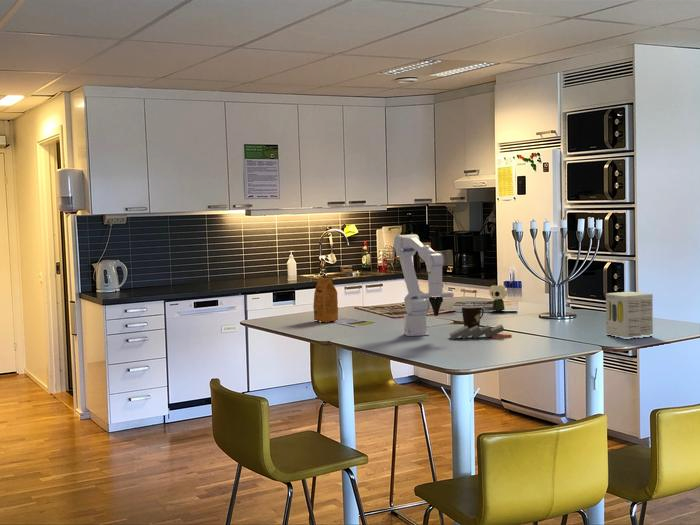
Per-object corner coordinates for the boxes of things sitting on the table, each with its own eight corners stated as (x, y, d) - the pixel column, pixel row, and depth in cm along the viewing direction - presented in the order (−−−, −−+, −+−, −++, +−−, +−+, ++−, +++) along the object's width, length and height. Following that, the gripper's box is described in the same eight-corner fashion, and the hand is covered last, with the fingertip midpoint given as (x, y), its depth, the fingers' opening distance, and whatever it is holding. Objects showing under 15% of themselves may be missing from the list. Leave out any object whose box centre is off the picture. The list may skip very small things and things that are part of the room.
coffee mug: (466, 331, 366) (466, 308, 365) (459, 328, 374) (458, 306, 374) (491, 329, 369) (490, 306, 368) (483, 326, 377) (482, 304, 377)
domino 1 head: (450, 335, 345) (468, 327, 345) (448, 333, 350) (466, 325, 350) (452, 339, 345) (470, 331, 345) (450, 337, 350) (468, 329, 350)
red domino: (492, 335, 346) (511, 334, 346) (489, 333, 351) (508, 332, 351) (492, 339, 346) (511, 338, 346) (489, 337, 351) (508, 336, 351)
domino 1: (461, 335, 345) (478, 327, 345) (459, 333, 350) (476, 325, 350) (463, 339, 345) (480, 330, 345) (461, 337, 350) (478, 329, 350)
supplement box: (605, 335, 343) (604, 293, 342) (631, 333, 348) (631, 291, 347) (626, 340, 331) (626, 296, 330) (653, 337, 335) (653, 293, 334)
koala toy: (485, 311, 430) (485, 286, 429) (494, 309, 434) (493, 284, 433) (502, 312, 421) (502, 287, 421) (511, 311, 426) (511, 285, 425)
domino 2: (472, 334, 345) (490, 326, 345) (470, 333, 350) (487, 325, 350) (474, 338, 345) (491, 330, 345) (472, 336, 350) (489, 329, 350)
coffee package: (328, 319, 418) (327, 275, 416) (340, 322, 407) (339, 276, 406) (310, 321, 413) (309, 276, 412) (322, 324, 402) (321, 278, 401)
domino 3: (484, 333, 345) (503, 326, 345) (483, 331, 350) (501, 324, 349) (486, 337, 346) (504, 330, 345) (485, 335, 350) (503, 328, 350)
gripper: (419, 284, 340) (420, 317, 341) (454, 283, 342) (455, 316, 343) (416, 282, 347) (417, 315, 348) (451, 281, 349) (451, 313, 350)
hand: (436, 315), depth 346 cm, fingers closed
